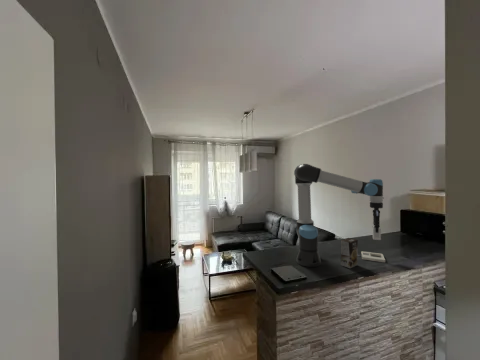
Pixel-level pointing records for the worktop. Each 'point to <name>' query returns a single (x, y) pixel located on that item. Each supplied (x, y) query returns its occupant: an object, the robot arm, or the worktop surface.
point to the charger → (379, 234)
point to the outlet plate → (370, 257)
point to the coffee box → (349, 252)
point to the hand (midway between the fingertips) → (376, 236)
